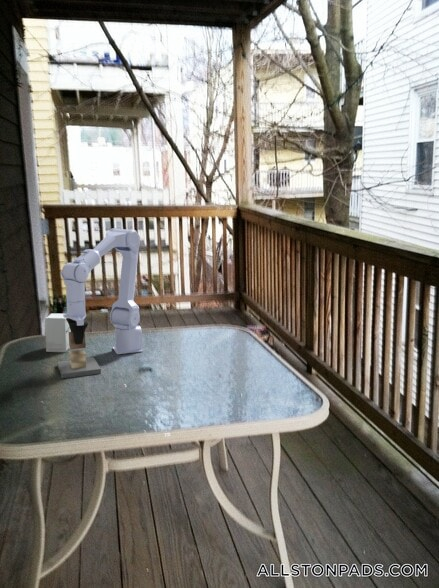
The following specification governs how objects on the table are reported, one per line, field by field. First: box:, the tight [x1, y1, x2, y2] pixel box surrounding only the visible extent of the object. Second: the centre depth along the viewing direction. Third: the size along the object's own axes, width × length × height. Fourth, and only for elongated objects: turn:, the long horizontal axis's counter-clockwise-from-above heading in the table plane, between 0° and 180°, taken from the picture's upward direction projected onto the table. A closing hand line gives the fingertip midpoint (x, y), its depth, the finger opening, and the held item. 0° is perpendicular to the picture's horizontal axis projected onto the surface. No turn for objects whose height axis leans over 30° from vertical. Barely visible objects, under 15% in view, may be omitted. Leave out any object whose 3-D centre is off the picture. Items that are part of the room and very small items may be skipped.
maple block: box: [68, 348, 87, 368], centre depth 172 cm, size 4×4×4 cm
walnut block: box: [69, 332, 87, 350], centre depth 170 cm, size 4×4×4 cm
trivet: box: [56, 357, 102, 379], centre depth 172 cm, size 12×12×2 cm
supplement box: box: [44, 313, 71, 353], centre depth 191 cm, size 7×7×13 cm
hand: (77, 341), depth 170 cm, fingers closed on walnut block, 4 cm apart
